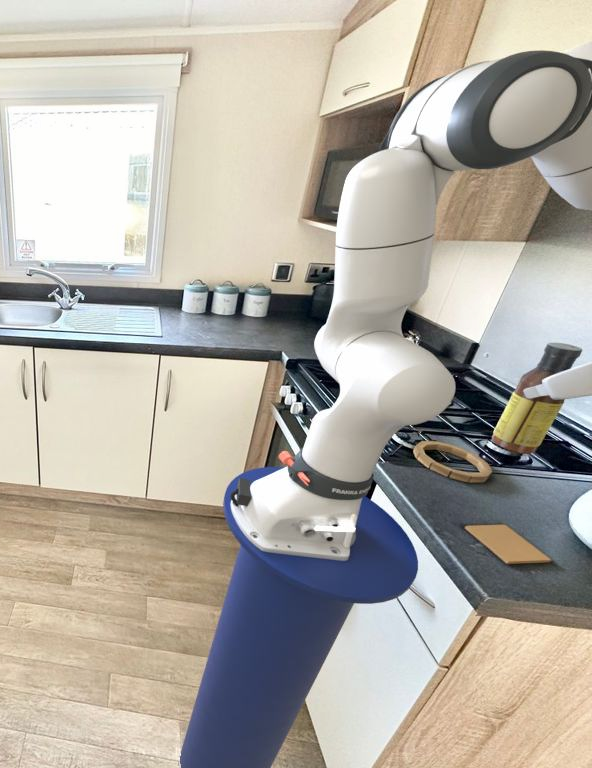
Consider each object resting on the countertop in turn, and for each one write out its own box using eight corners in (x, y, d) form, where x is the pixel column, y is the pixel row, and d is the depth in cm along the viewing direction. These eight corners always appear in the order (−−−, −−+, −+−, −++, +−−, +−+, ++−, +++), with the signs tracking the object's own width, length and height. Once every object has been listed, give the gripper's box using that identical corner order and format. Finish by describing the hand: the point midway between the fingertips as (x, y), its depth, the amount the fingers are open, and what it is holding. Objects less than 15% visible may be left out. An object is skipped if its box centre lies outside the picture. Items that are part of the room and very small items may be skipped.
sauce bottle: (537, 449, 76) (602, 349, 67) (529, 460, 73) (596, 356, 64) (492, 432, 81) (546, 337, 72) (482, 442, 77) (538, 343, 69)
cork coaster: (507, 564, 69) (509, 561, 69) (464, 528, 76) (465, 525, 76) (550, 562, 70) (551, 559, 70) (503, 526, 77) (505, 524, 77)
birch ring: (447, 483, 88) (451, 477, 87) (399, 446, 100) (402, 441, 99) (504, 481, 89) (508, 475, 88) (450, 445, 101) (453, 440, 100)
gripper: (674, 333, 64) (556, 366, 77) (618, 348, 57) (497, 382, 69) (700, 370, 63) (575, 397, 75) (646, 391, 55) (517, 417, 68)
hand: (537, 390), depth 72 cm, fingers closed on sauce bottle, 6 cm apart
